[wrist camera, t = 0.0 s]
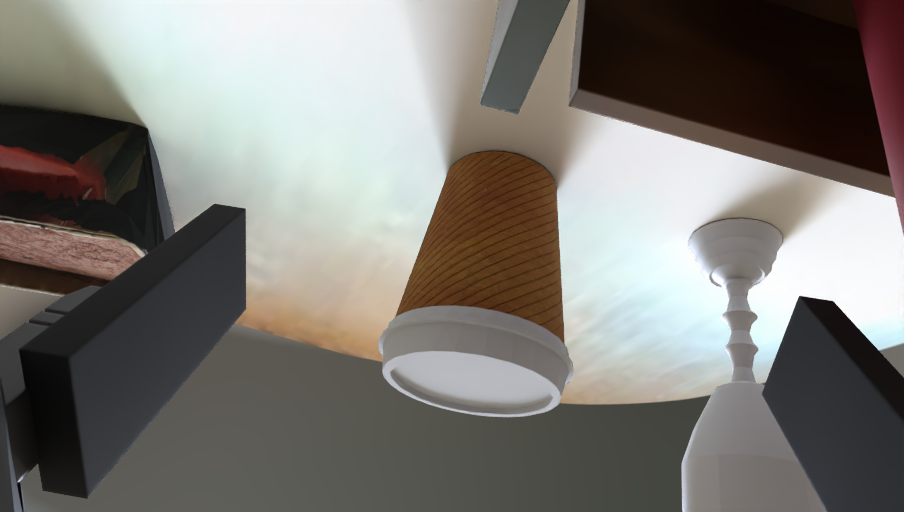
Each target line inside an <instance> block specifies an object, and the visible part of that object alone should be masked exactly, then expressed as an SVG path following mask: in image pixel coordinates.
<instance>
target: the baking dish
mask: <svg viewBox="0 0 904 512" xmlns="http://www.w3.org/2000/svg"><path fill="white" fill-rule="evenodd" d="M173 234H175V229H174V225H173V221H172V217H171V212H170V208H169V204H168V200H167V196H166V191H165V187H164V183H163V179H162V175H161V170H160V166H159V162H158V158H157V155H156V152H155V149H154V146H153V143H152V140H151V137H150V134H149V131H148V129H147V128H144V127H141V126H138V125H135V124H131V123H127V122H120V121H114V120H108V119H102V118H96V117H90V116H84V115H78V114H70V113H62V112H54V111H46V110H38V109H30V108H22V107H14V106H6V105H0V286H1V287H9V288H13V289H22V290H26V291H32V292H40V293H44V294H50V295H55V296H56V295H58V296H64V295H67V294H69V293H72V292H75V291H77V290H80V289H83V288H85V287H88V286H91V285H92V286H98V287H103V286H104V285H106V284H107V283H108V282H110V281H111V280H113V279H114V278H115V277H117V276H118V275H119V274H121V273H122V272H123V271H125V270H126V269H127V268H129V267H130V266H131V265H133V264H134V263H135V262H137V261H138V260H139V259H141V258H142V257H144V256H145V255H146V254H148V253H149V252H150V251H152V250H153V249H154V248H156V247H157V246H158V245H160V244H161V243H162V242H164V241H165V240H166V239H168V238H169V237H171V236H172V235H173Z"/></svg>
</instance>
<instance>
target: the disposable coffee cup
mask: <svg viewBox="0 0 904 512" xmlns="http://www.w3.org/2000/svg"><path fill="white" fill-rule="evenodd" d="M560 267H561V266H560V249H559V230H558V211H557V186H556V183H555V180H554V179H553V177H552V176H551V174H550V173H549V172H548V171H547V170H546V169H545V168H544V167H543V166H541V165H539V164H538V163H536V162H535V161H533V160H531V159H528V158H526V157H523V156H520V155H517V154H513V153H507V152H497V151H490V152H481V153H475V154H471V155H468V156H466V157H464V158H462V159H460V160H459V161H457V162H456V163H455V164H453V165H452V167H451V168H450V169H449V171H448V174H447V176H446V180H445V183H444V185H443V188H442V191H441V193H440V196H439V199H438V202H437V204H436V207H435V210H434V213H433V215H432V218H431V221H430V224H429V226H428V229H427V231H426V234H425V237H424V240H423V243H422V245H421V248H420V251H419V254H418V256H417V259H416V262H415V264H414V267H413V270H412V273H411V275H410V277H409V280H408V283H407V286H406V289H405V292H404V295H403V297H402V300H401V303H400V306H399V308H398V311H397V314H396V316H395V318H394V319H393V320H392V321H391V322H390V323H389V326H388V328H387V329H386V330H384V331H383V333H382V335H381V336H380V338H379V342H378V348H379V351H380V353H381V354H382V356H383V375H384V377H385V379H386V380H387V381H388V382H389V384H390V385H392V386H393V387H395V388H396V389H397V390H399V391H400V392H402V393H404V394H406V395H408V396H410V397H411V398H414V399H417V400H419V401H422V402H424V403H427V404H430V405H433V406H437V407H439V408H444V409H448V410H452V411H457V412H461V413H468V414H474V415H482V416H495V417H518V416H529V415H533V414H538V413H542V412H546V411H548V410H550V409H553V408H554V407H555V406H557V405H558V404H559V401H560V399H561V396H562V393H563V390H564V387H565V385H566V384H568V383H569V382H570V380H571V379H572V377H573V364H572V361H571V359H570V358H569V354H568V350H567V347H566V346H565V344H564V322H563V305H562V286H561V269H560Z"/></svg>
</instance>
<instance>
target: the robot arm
mask: <svg viewBox="0 0 904 512" xmlns="http://www.w3.org/2000/svg"><path fill="white" fill-rule="evenodd" d="M245 310H246V209H244V208H238V207H231V206H225V205H219V204H214V205H212V206H211V207H210V208H208V209H207V210H206V211H204V212H203V213H202V214H200V215H199V216H197V217H196V218H195V219H193V220H192V221H191V222H189V223H188V224H187V225H185V226H184V227H183V228H181V229H180V230H179V231H177V232H176V233H175V234H173V235H172V236H171V237H169V238H168V239H166V240H165V241H164V242H162V243H161V244H160V245H158V246H157V247H156V248H154V249H153V250H152V251H150V252H149V253H148V254H146V255H145V256H144V257H142V258H141V259H139V260H138V261H137V262H135V263H134V264H133V265H131V266H130V267H129V268H127V269H126V270H125V271H123V272H122V273H121V274H119V275H118V276H117V277H115V278H114V279H113V280H111V281H110V282H108V283H107V284H106V285H104V286H103V287H98V286H92V285H91V286H88V287H85V288H83V289H80V290H77V291H75V292H72V293H69V294H67V295H64V296H63V297H61V298H60V299H59V300H57V301H56V302H54V303H53V304H52V305H50V306H49V307H47V308H46V309H45V312H40V313H39V314H37V315H36V316H34V317H33V318H31V319H30V320H29V323H24V324H23V325H21V326H20V327H19V328H17V329H16V330H14V331H13V332H11V333H10V334H8V335H7V336H6V337H4V338H3V339H1V340H0V512H25V505H24V498H23V491H22V486H21V480H22V479H23V478H24V477H25V476H26V475H27V474H28V473H29V472H30V470H32V469H33V468H34V467H35V466H36V465H37V464H38V465H39V471H40V476H41V482H42V488H43V491H48V492H54V493H59V494H65V495H70V496H76V497H81V498H88V497H89V496H90V495H91V494H92V493H93V491H94V490H95V489H96V488H97V486H98V485H99V484H100V483H101V482H102V481H103V479H104V478H105V477H106V476H107V475H108V474H109V472H110V471H111V470H112V469H113V468H114V466H115V465H116V464H117V463H118V461H119V460H120V459H121V458H122V457H123V456H124V454H125V453H126V452H127V451H128V449H129V448H130V447H131V446H132V445H133V443H134V442H135V441H136V440H137V439H138V437H139V436H140V435H141V434H142V433H143V432H144V430H145V429H146V428H147V427H148V426H149V424H150V423H151V422H152V421H153V420H154V418H155V417H156V416H157V415H158V414H159V412H160V411H161V410H162V409H163V408H164V406H165V405H166V404H167V403H168V402H169V401H170V399H171V398H172V397H173V396H174V394H175V393H176V392H177V391H178V390H179V389H180V387H181V386H182V385H183V383H184V382H185V381H186V380H187V379H188V378H189V377H190V375H191V374H192V373H193V372H194V371H195V369H196V368H197V367H198V366H199V365H200V363H201V362H202V361H203V360H204V359H205V357H206V356H207V355H208V354H209V353H210V351H211V350H212V349H213V348H214V346H215V345H216V344H217V343H218V342H219V340H220V339H221V338H222V337H223V336H224V335H225V333H226V332H227V331H228V330H229V329H230V328H231V326H232V325H233V324H234V323H235V322H236V320H237V319H238V318H239V317H240V316H241V314H242V313H243V312H244V311H245ZM762 396H763V398H764V400H765V401H766V403H767V405H768V407H769V409H770V410H771V412H772V414H773V416H774V418H775V419H776V421H777V423H778V425H779V427H780V429H781V430H782V432H783V434H784V436H785V438H786V439H787V441H788V443H789V445H790V447H791V449H792V450H793V452H794V454H795V456H796V458H797V459H798V461H799V463H800V465H801V467H802V468H803V470H804V472H805V474H806V476H807V478H808V479H809V481H810V483H811V485H812V487H813V488H814V490H815V492H816V494H817V496H818V497H819V499H820V501H821V503H822V505H823V507H824V508H825V510H826V512H904V378H903V377H902V375H901V374H899V372H898V371H897V370H896V369H895V368H894V367H893V366H892V365H891V364H890V362H889V361H887V359H886V358H884V356H883V355H882V354H881V353H880V352H879V351H878V349H877V348H876V347H875V346H874V345H873V344H872V343H871V342H870V341H869V340H868V339H867V338H866V336H865V335H864V334H863V333H862V332H861V331H860V330H859V329H858V328H857V327H856V326H855V325H854V323H853V322H852V321H851V320H850V319H849V318H848V317H847V316H846V315H845V314H844V313H843V312H842V310H841V309H840V308H839V307H838V306H837V305H836V304H835V303H834V302H833V301H828V300H822V299H816V298H809V297H803V296H799V298H798V301H797V303H796V306H795V308H794V311H793V314H792V316H791V319H790V321H789V324H788V327H787V329H786V332H785V334H784V337H783V339H782V342H781V345H780V347H779V350H778V352H777V355H776V358H775V360H774V363H773V365H772V368H771V370H770V373H769V376H768V378H767V381H766V383H765V386H764V389H763V391H762Z"/></svg>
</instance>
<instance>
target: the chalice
mask: <svg viewBox="0 0 904 512" xmlns="http://www.w3.org/2000/svg"><path fill="white" fill-rule="evenodd" d="M782 239H783V237H782V235H781V233H780V231H779V230H778V229H776V228H775V227H774V226H772V225H771V224H768V223H765V222H762V221H759V220H752V219H744V218H741V219H726V220H721V221H716V222H712V223H710V224H708V225H705V226H703V227H701V228H699V229H698V230H697V231H695V232H694V233H693V234H692V235H691V237H690V239H689V241H688V244H689V249H690V250H691V252H692V253H693V255H694V256H695V257H696V262H697V263H698V265H699V266H700V267H701V268H702V273H703V275H704V276H705V277H706V278H707V279H708V280H709V281H710V282H712V283H713V284H715V285H716V286H719V287H722V288H723V289H725V290H726V291H727V294H728V297H729V303H728V308H727V311H726V312H725V313H724V314H723V315H722V316H721V319H722V320H723V321H724V322H726V323H727V324H728V326H729V329H730V332H731V336H730V340H729V343H728V344H727V346H726V347H725V351H726V352H727V353H728V354H729V356H730V359H731V363H732V367H733V375H732V381H731V382H730V383H726V384H723V385H721V386H718V387H717V388H716V389H714V391H713V393H712V395H711V397H710V399H709V401H708V403H707V405H706V407H705V409H704V410H703V412H702V414H701V416H700V418H699V420H698V422H697V424H696V426H695V428H694V430H693V433H692V436H691V438H690V441H689V444H688V447H687V450H686V453H685V456H684V458H683V461H682V512H826V510H825V508H824V507H823V505H822V503H821V501H820V499H819V497H818V496H817V494H816V492H815V490H814V488H813V487H812V485H811V483H810V481H809V479H808V478H807V476H806V474H805V472H804V470H803V468H802V467H801V465H800V463H799V461H798V459H797V458H796V456H795V454H794V452H793V450H792V449H791V447H790V445H789V443H788V441H787V439H786V438H785V436H784V434H783V432H782V430H781V429H780V427H779V425H778V423H777V421H776V419H775V418H774V416H773V414H772V412H771V410H770V409H769V407H768V405H767V403H766V401H765V400H764V398H763V396H762V391H763V389H764V386H765V385H762V384H758V383H756V381H755V378H754V375H753V371H752V366H753V360H754V355H755V354H756V353H757V351H758V348H757V346H756V345H755V344H754V343H753V341H752V338H751V336H750V329H751V325H752V323H753V322H754V321H755V320H756V319H757V315H756V314H755V313H753V312H752V311H751V310H750V307H749V304H748V301H747V295H748V290H749V289H750V288H752V287H753V286H754V285H757V284H758V283H760V282H761V281H762V280H763V279H764V278H765V277H766V276H767V275H768V274H769V273H770V272H771V269H772V264H773V262H774V261H775V260H776V255H777V251H778V250H779V248H780V247H781V245H782Z"/></svg>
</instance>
